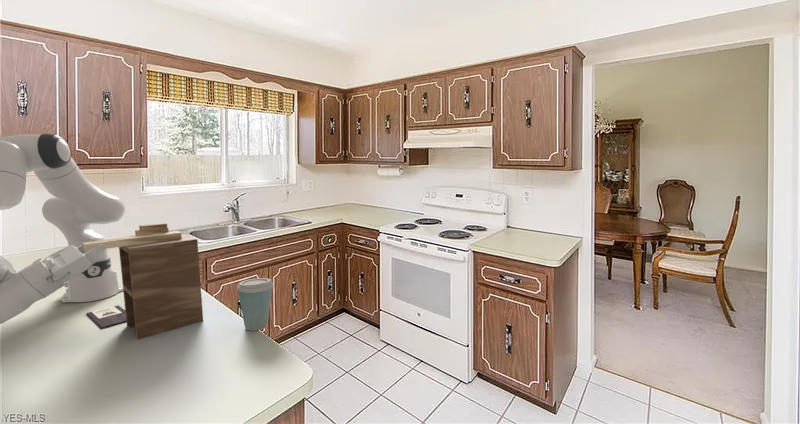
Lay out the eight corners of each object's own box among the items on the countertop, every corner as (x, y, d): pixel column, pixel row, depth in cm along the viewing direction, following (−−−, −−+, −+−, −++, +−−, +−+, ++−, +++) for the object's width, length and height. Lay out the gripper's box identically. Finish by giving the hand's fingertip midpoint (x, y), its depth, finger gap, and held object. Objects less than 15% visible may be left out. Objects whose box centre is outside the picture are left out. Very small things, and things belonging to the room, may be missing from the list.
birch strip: (82, 249, 106) (82, 242, 105) (178, 237, 123) (177, 231, 123) (84, 251, 103) (84, 244, 103) (181, 238, 121) (181, 232, 120)
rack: (126, 326, 119) (116, 227, 115) (189, 310, 132) (182, 220, 128) (137, 339, 110) (127, 232, 106) (203, 320, 123) (196, 224, 119)
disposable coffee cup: (233, 326, 119) (230, 280, 117) (266, 316, 126) (264, 273, 124) (247, 337, 111) (244, 288, 109) (281, 326, 119) (279, 280, 117)
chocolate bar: (101, 327, 117) (86, 313, 128) (102, 330, 117) (86, 315, 128) (135, 318, 124) (118, 305, 135) (135, 320, 124) (118, 307, 135)
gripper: (39, 275, 91) (99, 239, 98) (33, 260, 105) (86, 230, 112) (59, 294, 94) (116, 258, 101) (51, 277, 108) (101, 246, 115)
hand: (100, 243), depth 107 cm, fingers open, 8 cm apart
